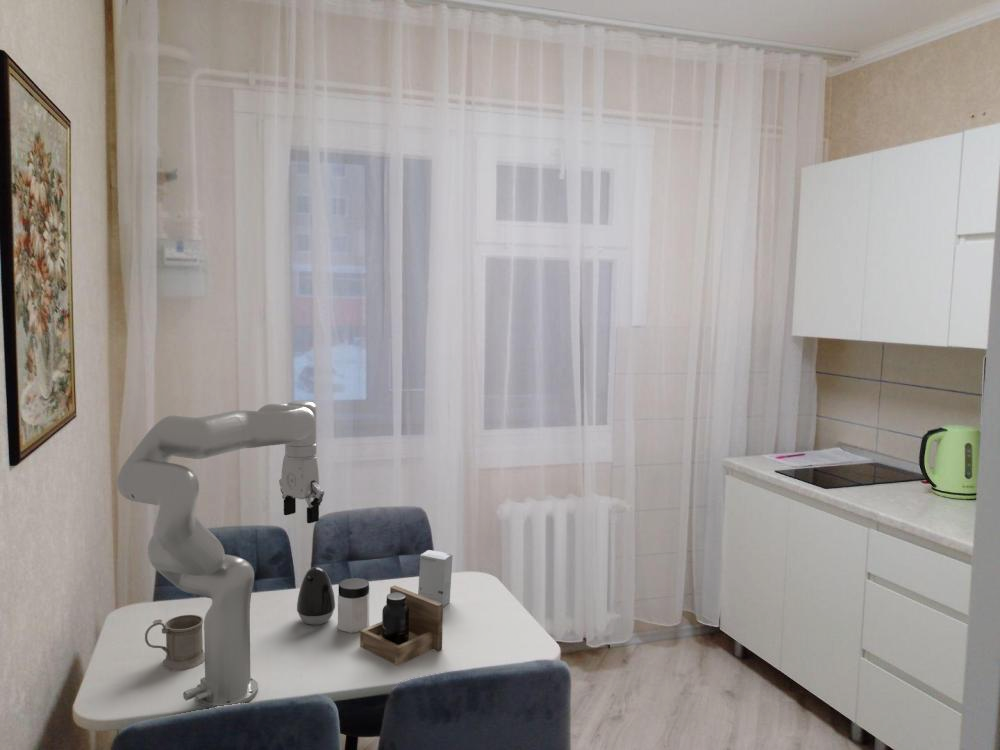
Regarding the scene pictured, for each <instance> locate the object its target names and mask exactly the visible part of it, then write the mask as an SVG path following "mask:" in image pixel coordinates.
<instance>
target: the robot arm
mask: <svg viewBox="0 0 1000 750" xmlns="http://www.w3.org/2000/svg"><path fill="white" fill-rule="evenodd" d="M316 406H317V405H316V404H315V403H314V402H312V401H308V400H296V401H294V400H293V401H290V402H287V403H268V404H266V405H263V406H262V407H260V408H259V409H258V410H232V411H228V412H224V413H223V412H222V413H217V414H212V415H206V416H201V417H192V416H181V415H167V416H164V417H163V418H161V419H160V420H159V421H158V422H156V423H155V425H153V426H152V427H151V429H150V430H149V431H148V432H147V433H146V434H145V436H144V437H143V438H142V440H140V442H139V444H138V445H137V446H136V447H135V449H134V450H133V451H132V453H131V454H130V455H129V456H128V457H127V459H126V460H125V461H124V463H123V465H122V466H121V468H120V471H119V472H118V475H117V479H116V480H117V481H116V485H117V490H118V492H119V494H120V495H121V496H122V497H123V498H125V499H126V500H129V501H131V502H136V503H142V504H147V505H154V506H158V513H157V515H156V519H155V523H154V527H153V531H152V536H151V538H150V539H149V541H148V542H149V543H148V545H147V555H148V559H149V562H150V564H151V566H152V567H153V568H154V569H155V570H156V571H157V572H158V573H160V574H161V576H163V577H164V578H166V580H168V581H169V582H170V583H171V584H172V585H174V586H175V587H176V588H178V589H179V590H181V591H183V592H185V593H188V594H191V595H196V596H200V597H204V598H207V599H210V600H211V604H210V607H209V608H208V610H207V612H206V613H205V616H204V619H203V632H204V635H203V637H204V641H203V645H204V653H205V661H204V677H202V678H200V683H199V684H197V685H196V687H194V688H191V689H187V690H185V691H183V693H182V695H183V699H184V701H189V700H191V699H195V701H196V702H198V703H200V705H202V706H204V707H205V708H210V707H217V706H224V705H232V704H238V703H243V704H246V703H247V702H249V701H251V700H252V699H254V698H255V696H256V695H257V693H258V691H259V684H258V681H256V679H254V678H252V677H251V617H250V616H251V600H252V593H253V587H254V584H255V583H254V582H255V570H254V568H253V566H252V564H251V563H250V562H249V561H247V560H246V559H243V558H242V557H239V556H237V555H231V554H225V549H224V546H223V544H222V543H221V541H220V540H219V539H218V538H217V536H216V535H215V534H213V533H212V532H211V531H210V530H209V529H208V528H207V527H206V526H205V525H204V524H203V523H202V522H201V521H200V520H199V519H198V517H197V516H196V507H197V501H198V496H199V493H200V492H199V491H200V485H199V484H200V483H199V479H198V477H197V475H196V473H195V472H194V471H193V470H192V469H191V468H189V467H187V466H185V465H182V464H178V463H174V462H173V463H172V462H170V460H171V458H172V457H175V458H176V457H179V458H184V459H186V458H187V459H194V460H200V459H201V460H202V459H207V458H211V457H215V456H219V455H223V454H226V453H230V452H233V451H234V452H235V451H237V450H242V449H253V448H255V449H256V448H262V447H269V446H278V445H284V453H285V454H284V455H283V460H282V464H281V465H282V466H281V478H279V479H278V482H279V486H280V492H281V493H282V495H281V497H282V500H283V515H284V516H289V515H292V514H296V511H297V508H296V505H297V501H296V499H297V500H305V501H306V504H307V507H306V523H307V524H313V523H316V522H319V520H320V506H321V503H322V501H323V498H324V495H325V491H324V490H323V489H322V487H321V486H320V478H319V477H320V476H319V466H318V461H317V407H316ZM245 702H246V703H245ZM210 709H211V708H210Z"/></svg>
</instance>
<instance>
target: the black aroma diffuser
mask: <svg viewBox="0 0 1000 750" xmlns="http://www.w3.org/2000/svg"><path fill="white" fill-rule="evenodd" d="M299 587H300V588H299V591H298V597H297V602H296V612H297V613H298V616H299V618H300V619H301V620H302V622H303V623H305V624H308V625H310V626H316V625H317V626H318V625H321V624H325V623H326V622H328V621H329V620H330V619H331V618H332V616H333V615H334V611H335V609H336V599H335V593H334V589H333V586H332V582H331V579H330V577H329V575H328V574H327V572H326V570H325V569H323V568H322V567H320V566H313V567H311V568H310V569H308V571H307V572H306V573H305V575H304V577H303V579H302V581H301V584H300V586H299Z"/></svg>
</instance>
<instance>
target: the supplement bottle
mask: <svg viewBox="0 0 1000 750" xmlns="http://www.w3.org/2000/svg"><path fill="white" fill-rule="evenodd" d="M385 603H386V604H385V605H384V606H383V608H382V614H381V622H382V638H384V639H386V640H388V641H391V642H393V643H395V644H397V645H401V644H403V643H405V642H407V641H408V640H409V607H408V606H407V605H406V596H405V594H403V593H399V592H394V593H388V594H387V595H386V601H385Z"/></svg>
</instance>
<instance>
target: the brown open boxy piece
mask: <svg viewBox="0 0 1000 750" xmlns="http://www.w3.org/2000/svg"><path fill="white" fill-rule="evenodd" d="M389 588H390V589H389V590H390V591H389V592H390V593H394V592H399V593H403V594H405V596H406V605H407V606H408V607H409V640H408V641H407V642H405V643H403V644H401V645H397V644H395V643H393V642H391V641H388V640H386V639H384V638H382V621H380V622H377V623H375V624H372V625H370V626H368V628H365V629H363V630H360V631H359V647H360V648H361V649H363V650H365V651H368V652H369V653H371V654H373V655H375V656H378V657H379V658H381V659H384V660H385V661H387V662H389V663H391V664H394V665H395V666H398V667H399V666H401V665H403V664H405V663H408V662H410V661H412V660H414V659H416V658H417V657H419V656H422V655H424V654H425V653H428V652H430V651H432V650H433V651H436V652H440V651H442V650H443V624H444V623H443V617H444V616H443V613H444V612H443V611H444V607H443V604H441V603H439V602H436V601H434V600H431V599H429V598H426V597H423V596H421V595H418V593H416V592H413V591H410V590H408V589H405V588H402V587H400V586H398V585H396V584H395V585H392V586H390V587H389ZM390 593H389V594H390Z"/></svg>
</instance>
